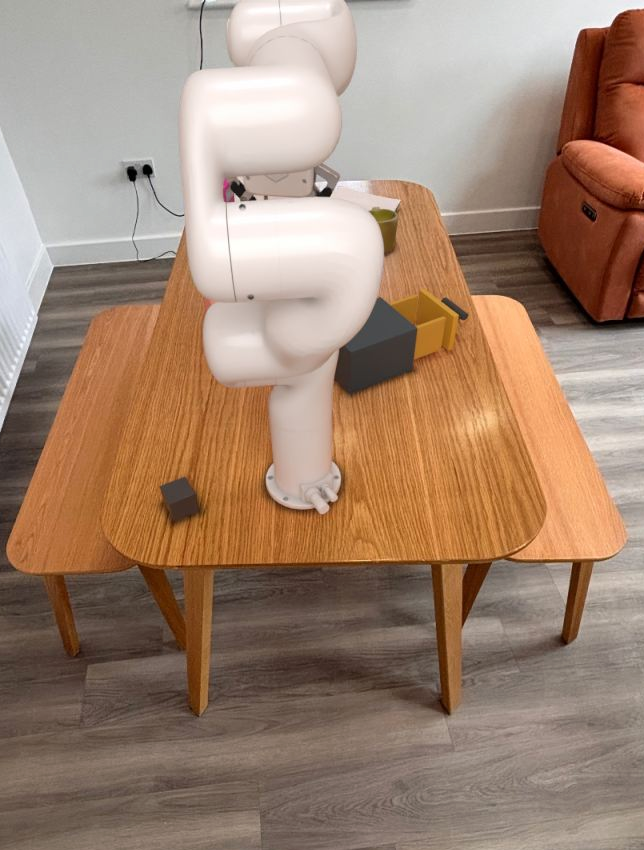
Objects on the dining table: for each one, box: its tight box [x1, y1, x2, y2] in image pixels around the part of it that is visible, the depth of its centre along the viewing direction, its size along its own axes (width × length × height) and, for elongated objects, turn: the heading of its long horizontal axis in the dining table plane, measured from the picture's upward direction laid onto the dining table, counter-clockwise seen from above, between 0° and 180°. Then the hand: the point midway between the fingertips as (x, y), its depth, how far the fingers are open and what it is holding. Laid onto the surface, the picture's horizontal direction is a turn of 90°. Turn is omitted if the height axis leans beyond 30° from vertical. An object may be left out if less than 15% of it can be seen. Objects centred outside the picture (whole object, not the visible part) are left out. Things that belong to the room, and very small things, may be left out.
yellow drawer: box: [388, 287, 469, 361], centre depth 128 cm, size 18×11×8 cm, turn 119°
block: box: [159, 476, 200, 523], centre depth 103 cm, size 4×4×4 cm
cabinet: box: [334, 296, 418, 395], centre depth 124 cm, size 15×13×10 cm
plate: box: [330, 185, 402, 212], centre depth 169 cm, size 20×20×3 cm
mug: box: [369, 207, 399, 254], centre depth 156 cm, size 12×10×10 cm
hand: (283, 229), depth 99 cm, fingers open, 9 cm apart
